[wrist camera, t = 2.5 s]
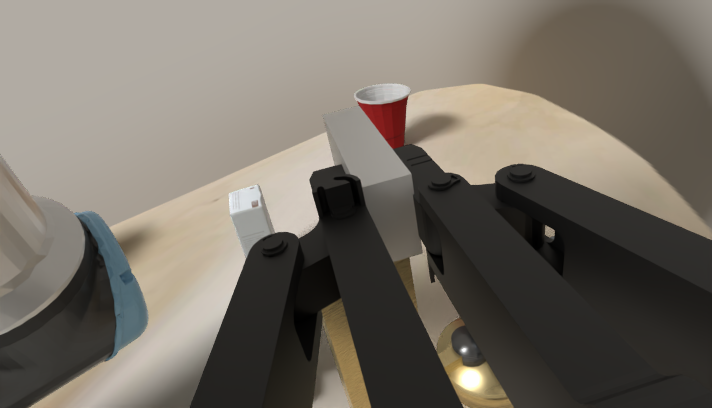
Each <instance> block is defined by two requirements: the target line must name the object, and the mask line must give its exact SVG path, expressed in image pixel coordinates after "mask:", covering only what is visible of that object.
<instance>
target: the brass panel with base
mask: <svg viewBox="0 0 712 408" xmlns="http://www.w3.org/2000/svg"><path fill="white" fill-rule="evenodd" d="M393 263H394V265H395V267H396V269H397V271H398V273H399V275H400V277H401V279H402V281H403V283H404V285H405V287H406V290H407V292H408V294H409V296H410V298H411V300H412V302H413V304H414V306H415V308H416V310H417V312H418V309H417V303H416V297H415V290H414V284H413V278H412V272H411V265H410V259H409V257H408V258H405V259H401V260H398V261H395V262H393ZM322 314H323V320H322V324H323V327H324V330H325V333H326V336H327V339H328V342H329V345H330V348H331V351H332V354H333V357H334V360H335V363H336V366H337V369H338V372H339V375H340V378H341V381H342V384H343V387H344V390H345V393H346V396H347V399H348V402H349V405H350V408H371V405H370V402H369V398H368V394H367V391H366V387H365V383H364V380H363V376H362V372H361V369H360V365H359V361H358V358H357V354H356V350H355V347H354V343H353V339H352V336H351V332H350V328H349V325H348V321H347V317H346V314H345V310H344V306H343V303H342V299H339V300H337V301H336V302H334V303H332V304H330V305H329V306H327V307H325V308H324V309H322ZM437 354H438V356H439V358H440V360H441V362H442V364H443V366H444V368H445V370H446V372H447V375H448V377H449V379H450V381H451V383H452V385H453V387H454V389H455V391H456V393H457V395H458V397H459V399H460V401H461V403H463V404H464V405H466V406H468V407H470V408H514V407H513V405H512V404H511V402H510V400H509V399H508V397H507V395H506V393H505V392H504V390H503V388H502V387H501V385H500V383H499V382H498V380H497V378H496V376H495V375H494V373H493V371H492V370H491V368H490V366H489V365H488V363H487V361H486V359H485V358H484V356H483V354H482V353H481V351H480V349H479V348H478V346H477V344H476V343H475V341H474V339H473V337H472V336H471V334H470V332H469V331H468V329H467V327H466V326H465V324H464V322H463V320H462V319H461V317H460V318H458V319H456V320H455V321H453V322H452V323H450V324H449V325H448V326H447V327H446V328H445V329H444V330H443V332H442V333H441V335H440V337H439V340H438V344H437Z"/></svg>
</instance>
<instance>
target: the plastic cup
mask: <svg viewBox="0 0 712 408" xmlns="http://www.w3.org/2000/svg"><path fill="white" fill-rule="evenodd" d="M410 92H411V90H410V88H409V87H408V86H405V85H402V84H394V83H392V84H377V85H371V86H368V87H365V88H362V89H360V90H358V91H356V93H355V94H354V97H355V99H356V100H357V102H358V104H359V106H360V108H361V109H362V110H363V111H364V113H365V114H366V115H367V117H368V118H369V119H370V121H371V122H372V123H373V124H374V126H375V127H376V128H377V130H378V131H379V132H380V134H381V135H382V136H383V137H384V139H385V140H386V141H387V143H388V144H389V145H390V147H391V148H392V149H395V148H398V147H402V146H404V133H405V122H406V105H407V100H408V96H409V94H410Z"/></svg>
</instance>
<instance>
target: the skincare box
mask: <svg viewBox="0 0 712 408" xmlns="http://www.w3.org/2000/svg"><path fill="white" fill-rule="evenodd" d="M229 207H230V217H231V219H232V222H233V225H234V227H235V230H236V233H237V236H238V239H239V241H240V244H241V247H242V249H243V252H244V254H245V257H246V258H247V256H248V253H249V251H250V249H251V248H252V246H253V245H254V244H255V243H256V242H257V241H259V240H260V239H262V238H263V237H265V236H267V235H270V234H274V233H275V231H274V228H273V225H272V222H271V219H270V216H269V213H268V210H267V207H266V204H265V201H264V198H263V195H262V192H261V189H260V186H259V185H258V184H257V185H254V186H250V187H247V188H244V189H240V190H237V191H234V192H232V193H229Z"/></svg>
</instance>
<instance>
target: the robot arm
mask: <svg viewBox="0 0 712 408" xmlns="http://www.w3.org/2000/svg"><path fill="white" fill-rule="evenodd" d="M323 119H324V123H325V127H326V131H327V136H328V140H329V144H330V148H331V152H332V156H333V160H334V164H335V166H332V167H329V168H325V169H321V170H318V171H314V172H313V174H312V176H311V178H310V184H311V188H312V194H313V197H314V201H315V204H316V208H317V211H318V215H319V222H318V224H317V226H316V227H315V228H314V229H313V230H312V231H311V232H309V233H308V234H306V235H304V236H303V237H301V238H299V239H298V237H297V236H296V235H295V234H292V233H289V232H278V233H274V234H270V235H267V236H265V237H263V238H262V239H260V240H259V241H257V242H256V243H255V244H254V245H253V246H252V248H251V249H250V251H249V253H248V256H247V258H246V261H245V264H244V266H243V269H242V272H241V274H240V277H239V279H238V282H237V285H236V287H235V290H234V293H233V295H232V298H231V301H230V303H229V306H228V308H227V311H226V314H225V316H224V319H223V322H222V324H221V327H220V329H219V332H218V335H217V337H216V340H215V343H214V345H213V348H212V350H211V353H210V356H209V358H208V361H207V364H206V366H205V369H204V371H203V374H202V377H201V379H200V382H199V385H198V387H197V390H196V393H195V395H194V398H193V400H192V403H191V406H190V408H312V404H313V396H314V387H315V379H316V370H317V362H318V353H319V345H320V337H321V328H322V320H323V314H322V309H324V308H325V307H327V306H329V305H330V304H332V303H334V302H336V301H337V300H339V299H342V303H343V306H344V310H345V314H346V317H347V321H348V325H349V328H350V332H351V336H352V339H353V343H354V347H355V350H356V354H357V358H358V361H359V365H360V369H361V372H362V376H363V380H364V383H365V387H366V391H367V394H368V398H369V402H370V405H371V408H463V406H462V404H461V401H460V399H459V397H458V395H457V393H456V391H455V389H454V387H453V385H452V383H451V381H450V379H449V377H448V375H447V372H446V370H445V368H444V366H443V364H442V362H441V360H440V358H439V356H438V354H437V352H436V350H435V348H434V346H433V343H432V341H431V339H430V337H429V335H428V333H427V331H426V329H425V327H424V325H423V323H422V321H421V319H420V317H419V314H418V312H417V310H416V308H415V306H414V304H413V302H412V300H411V298H410V296H409V294H408V292H407V290H406V287H405V285H404V283H403V281H402V279H401V277H400V275H399V273H398V271H397V269H396V267H395V265H394V263H393V262H395V261H398V260H401V259H405V258H408V257H412V256H415V255H418V254H422V245H421V240H422V242H423V243H424V245H425V247H426V251H427V259H428V266H429V274H430V279H431V283H433V282H435V278H434V275H436V276H437V278H438V280H439V281H440V283H441V285H442V287H443V288H444V290H445V292H446V293H447V295H448V297H449V298H450V300H451V302H452V304H453V305H454V307H455V309H456V310H457V312H458V314H459V315H460V317H461V319H462V320H463V322H464V324H465V326H466V327H467V329H468V331H469V332H470V334H471V336H472V337H473V339H474V341H475V343H476V344H477V346H478V348H479V349H480V351H481V353H482V354H483V356H484V358H485V359H486V361H487V363H488V365H489V366H490V368H491V370H492V371H493V373H494V375H495V376H496V378H497V380H498V382H499V383H500V385H501V387H502V388H503V390H504V392H505V393H506V395H507V397H508V399H509V400H510V402H511V404H512V405H513V407H514V408H712V240H710V239H707V238H705V237H703V236H700V235H698V234H696V233H693V232H691V231H689V230H686V229H684V228H682V227H679V226H677V225H674V224H672V223H670V222H667V221H665V220H663V219H660V218H658V217H656V216H653V215H651V214H649V213H646V212H644V211H641V210H639V209H637V208H634V207H632V206H630V205H627V204H625V203H623V202H620V201H618V200H616V199H613V198H611V197H608V196H606V195H604V194H601V193H599V192H597V191H594V190H592V189H590V188H587V187H585V186H583V185H580V184H578V183H576V182H573V181H571V180H568V179H566V178H564V177H561V176H559V175H557V174H554V173H552V172H550V171H547V170H545V169H543V168H540V167H537V166H533V165H526V164H517V165H516V164H514V165H510V166H507V167H504V168H502V169H500V170H499V171H497V173H496V175H495V183H494V184H483V185H470V184H469V183H468V182H467V181H466V180H465V179H464V178H463V177H461V176H460V175H458V174H454V173H445V172H444V171H443V170H442V169H441V168H440V167H439V166H438V165H437V164H436V163H435V162H434V161H432V158H431V157H430V156H429V155H428V154H427V153H426V152H425V151H424V150H423V149H422V148H420V147H418V146H415V145H412V144H409V145H406V146H402V147H398V148H395V149H392V148H391V147H390V145H389V144H388V143H387V141H386V140H385V139H384V137H383V136H382V135H381V134H380V132H379V131H378V130H377V128H376V127H375V126H374V124H373V123H372V122H371V121H370V119H369V118H368V117H367V115H366V114H365V113H364V111H363V110H362V109H361V108H360V106H359V105H358V106H355V107H351V108H347V109H343V110H339V111H335V112H332V113H328V114H324V115H323ZM545 225H547V226H548V227H550V228H552V229H554V230H555V237H554V239H551V238H549V237H547V236H546V235H545ZM147 324H148V310H147V306H146V303H145V300H144V297H143V294H142V291H141V289H140V286H139V284H138V282H137V280H136V278H135V276H134V275H133V274H132V273H131V268H130V266H129V263H128V261H127V258H126V256H125V254H124V253H123V251H122V249H121V247H120V245H119V243H118V242H117V240H116V238H115V237H114V235H113V233H112V232H111V230H110V229H109V227H108V226H107V224H106V223H105V222H104V220H103V219H102V218H101V217H100V216H99V215H98V214H96V213H95V212H92V211H85V212H82V213H77V212H76V213H73V212H72V211H70V210H69V209H68V208H67V207H65V206H64V205H63V204H61V203H59V202H56V201H54V200H52V199H48V198H44V197H39V196H33V195H30V194H29V192H28V191H27V190H26V188H25V187H24V186H23V184H22V183H21V181H20V180H19V179H18V177H17V176H16V175H15V174H14V172H13V171H12V169H11V168H10V167H9V165H8V164H7V163H6V161H5V160H4V159H3V157H2V156H1V154H0V408H29V407H31V406H32V405H34V404H35V403H37V402H38V401H40V400H42V399H43V398H45V397H46V396H48V395H50V394H51V393H53V392H54V391H56V390H58V389H59V388H61V387H62V386H64V385H66V384H67V383H69V382H70V381H72V380H74V379H75V378H77V377H79V376H80V375H82V374H84V373H85V372H87V371H89V370H90V369H92V368H93V367H95V366H97V365H98V364H100V363H102V362H103V361H108V360H110V359H112V358H113V357H114V356H115V355H116V354H117V353H118V351H119V350H121V349H122V348H124V347H125V346H127V345H128V344H130V343H131V342H132V341H134V340H135V339H137V338H138V337H139V336H140V335H141V334H142V333H143V332H144V331H145V329H146V327H147Z"/></svg>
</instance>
